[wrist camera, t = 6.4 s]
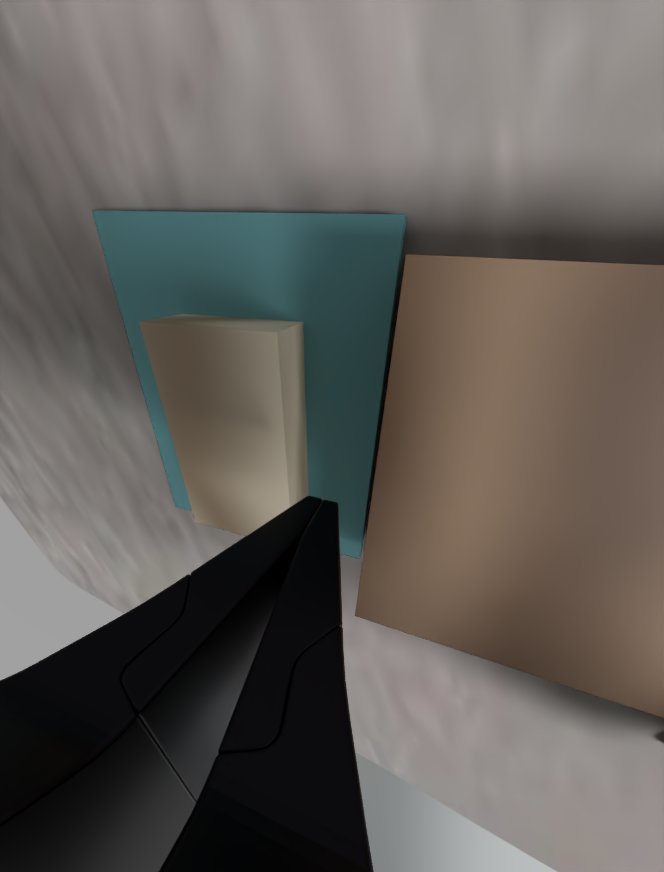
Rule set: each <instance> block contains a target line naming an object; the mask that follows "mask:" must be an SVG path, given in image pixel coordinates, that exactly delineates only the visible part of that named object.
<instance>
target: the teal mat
mask: <svg viewBox="0 0 664 872" xmlns="http://www.w3.org/2000/svg"><path fill="white" fill-rule="evenodd" d="M92 212H93V216H94V219H95V223H96V226H97V230H98V234H99V237H100V241H101V244H102V248H103V251H104V255H105V258H106V262H107V265H108V269H109V273H110V276H111V280H112V283H113V287H114V290H115V294H116V297H117V301H118V304H119V308H120V311H121V315H122V319H123V322H124V326H125V329H126V333H127V336H128V340H129V343H130V347H131V350H132V354H133V357H134V361H135V365H136V368H137V372H138V375H139V379H140V382H141V386H142V389H143V393H144V396H145V400H146V403H147V407H148V411H149V414H150V418H151V421H152V425H153V428H154V432H155V435H156V439H157V442H158V446H159V449H160V453H161V457H162V460H163V464H164V467H165V471H166V474H167V478H168V481H169V485H170V488H171V492H172V496H173V499H174V503H175V506H176V507H179V508H183V509H186V510H190V511H192V508H191V505H190V501H189V498H188V494H187V491H186V487H185V483H184V480H183V476H182V473H181V469H180V466H179V462H178V459H177V455H176V451H175V448H174V444H173V441H172V437H171V434H170V430H169V427H168V423H167V420H166V416H165V412H164V409H163V405H162V402H161V398H160V395H159V391H158V388H157V384H156V381H155V377H154V373H153V370H152V366H151V363H150V359H149V356H148V352H147V349H146V345H145V342H144V338H143V334H142V331H141V327H140V324H139V322H141V321H146V320H152V319H157V318H163V317H168V316H173V315H179V314H191V315H206V316H221V317H236V318H251V319H266V320H281V321H296V322H303V332H304V363H305V395H306V427H307V459H308V490H309V496H313V497H318V498H321V499H322V500H330V501H334V502H337V503H338V507H339V537H340V553H341V554H344V555H348V556H351V557H355V558H358V559H360V555H361V551H362V546H363V538H364V531H365V524H366V516H367V509H368V501H369V494H370V487H371V479H372V472H373V465H374V457H375V450H376V443H377V435H378V428H379V420H380V413H381V406H382V398H383V391H384V384H385V376H386V369H387V362H388V354H389V347H390V340H391V332H392V325H393V317H394V310H395V303H396V295H397V288H398V281H399V273H400V266H401V259H402V251H403V244H404V236H405V229H406V222H407V216H406V215H405V214H330V213H250V212H169V211H92Z"/></svg>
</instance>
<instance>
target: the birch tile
mask: <svg viewBox="0 0 664 872" xmlns="http://www.w3.org/2000/svg"><path fill="white" fill-rule="evenodd" d="M139 324H140V327H141V331H142V334H143V338H144V342H145V345H146V349H147V352H148V356H149V359H150V363H151V366H152V370H153V373H154V377H155V381H156V384H157V388H158V391H159V395H160V398H161V402H162V405H163V409H164V412H165V416H166V420H167V423H168V427H169V430H170V434H171V437H172V441H173V444H174V448H175V451H176V455H177V459H178V462H179V466H180V469H181V473H182V476H183V480H184V483H185V487H186V491H187V494H188V498H189V501H190V505H191V508H192V512H193V515H194V519H195V522H197V523H200V524H204V525H208V526H211V527H215V528H219V529H223V530H226V531H230V532H234V533H237V534H241V535H245V536H247V535H249V534H250V533H252V532H253V531H255V530H256V529H258V528H259V527H261V526H262V525H264V524H265V523H267V522H268V521H270V520H271V519H273V518H274V517H276V516H277V515H279V514H280V513H282V512H283V511H285V510H287V509H288V508H290V507H291V506H293V505H294V504H296V503H297V502H299V501H300V500H302V499H303V498H305V497H306V496H309V490H308V459H307V427H306V395H305V363H304V332H303V322H296V321H281V320H266V319H251V318H236V317H221V316H206V315H191V314H179V315H173V316H168V317H163V318H157V319H152V320H146V321H141V322H139Z"/></svg>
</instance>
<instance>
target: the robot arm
mask: <svg viewBox="0 0 664 872" xmlns="http://www.w3.org/2000/svg"><path fill="white" fill-rule="evenodd" d="M0 872H374V871H373V866H372V859H371V854H370V847H369V841H368V835H367V828H366V821H365V815H364V808H363V801H362V795H361V788H360V782H359V774H358V768H357V761H356V754H355V748H354V741H353V734H352V728H351V721H350V714H349V706H348V697H347V689H346V681H345V667H344V652H343V628H342V599H341V568H340V537H339V507H338V503H337V502H334V501H330V500H322V499H321V498H318V497H313V496H306V497H305V498H303V499H302V500H300V501H299V502H297V503H296V504H294V505H293V506H291V507H290V508H288V509H287V510H285V511H283V512H282V513H280V514H279V515H277V516H276V517H274V518H273V519H271V520H270V521H268V522H267V523H265V524H264V525H262V526H261V527H259V528H258V529H256V530H255V531H253V532H252V533H250V534H249V535H247V536H246V537H244V538H243V539H241V540H240V541H238V542H237V543H235V544H234V545H232V546H231V547H229V548H227V549H226V550H224V551H223V552H221V553H220V554H218V555H217V556H215V557H214V558H212V559H211V560H209V561H208V562H206V563H205V564H203V565H202V566H200V567H199V568H197V569H196V570H194V571H193V572H192V573H191V575H186V576H185V577H183V578H182V579H180V580H179V581H177V582H176V583H174V584H173V585H171V586H170V587H168V588H166V589H165V590H163V591H162V592H160V593H159V594H157V595H155V596H154V597H152V598H151V599H149V600H147V601H146V602H144V603H142V604H141V605H139V606H137V607H136V608H134V609H132V610H130V611H129V612H127V613H125V614H123V615H122V616H120V617H118V618H117V619H115V620H113V621H111V622H109V623H108V624H106V625H104V626H102V627H100V628H99V629H97V630H95V631H93V632H91V633H90V634H88V635H86V636H84V637H82V638H81V639H79V640H77V641H75V642H74V643H72V644H70V645H68V646H66V647H65V648H63V649H61V650H59V651H58V652H56V653H54V654H52V655H50V656H48V657H47V658H45V659H43V660H41V661H39V662H38V663H36V664H34V665H32V666H30V667H28V668H26V669H24V670H23V671H20V672H18V673H16V674H14V675H12V676H10V677H7V678H5V679H3V680H0Z"/></svg>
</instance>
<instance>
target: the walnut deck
mask: <svg viewBox="0 0 664 872" xmlns="http://www.w3.org/2000/svg"><path fill="white" fill-rule="evenodd" d="M355 616H357V617H360V618H363V619H366V620H369V621H372V622H375V623H378V624H381V625H384V626H387V627H390V628H393V629H396V630H399V631H402V632H405V633H408V634H411V635H414V636H417V637H420V638H423V639H426V640H429V641H432V642H435V643H438V644H441V645H444V646H447V647H450V648H453V649H456V650H459V651H462V652H465V653H468V654H471V655H475V656H478V657H481V658H484V659H487V660H490V661H493V662H496V663H499V664H502V665H505V666H508V667H511V668H514V669H517V670H520V671H523V672H526V673H529V674H532V675H535V676H538V677H541V678H544V679H547V680H550V681H553V682H556V683H559V684H562V685H565V686H568V687H571V688H574V689H577V690H580V691H583V692H586V693H589V694H592V695H595V696H598V697H601V698H604V699H607V700H610V701H613V702H616V703H619V704H622V705H625V706H628V707H631V708H634V709H637V710H641V711H644V712H647V713H650V714H653V715H656V716H659V717H662V718H664V265H644V264H621V263H597V262H574V261H551V260H527V259H504V258H481V257H457V256H434V255H410V254H406V258H405V266H404V273H403V280H402V287H401V294H400V301H399V308H398V315H397V322H396V329H395V336H394V343H393V350H392V357H391V364H390V372H389V379H388V386H387V393H386V400H385V407H384V414H383V421H382V428H381V435H380V442H379V449H378V456H377V463H376V470H375V478H374V485H373V492H372V499H371V506H370V513H369V520H368V527H367V534H366V541H365V548H364V555H363V562H362V569H361V577H360V584H359V591H358V598H357V605H356V612H355Z"/></svg>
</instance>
